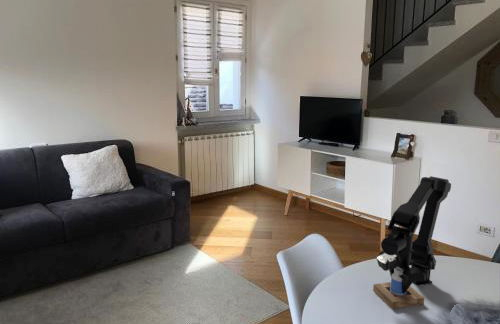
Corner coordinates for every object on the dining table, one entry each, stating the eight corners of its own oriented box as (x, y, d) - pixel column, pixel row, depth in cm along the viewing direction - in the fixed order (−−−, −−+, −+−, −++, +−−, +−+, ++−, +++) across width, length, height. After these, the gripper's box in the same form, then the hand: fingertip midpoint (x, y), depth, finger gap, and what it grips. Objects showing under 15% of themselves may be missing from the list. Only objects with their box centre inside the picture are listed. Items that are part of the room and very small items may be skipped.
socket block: (402, 286, 157) (403, 280, 157) (423, 304, 146) (424, 297, 145) (373, 290, 154) (373, 284, 154) (391, 308, 143) (392, 302, 142)
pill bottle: (407, 300, 147) (410, 273, 144) (390, 298, 148) (393, 271, 146) (405, 291, 152) (407, 266, 150) (388, 290, 153) (391, 264, 151)
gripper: (367, 237, 153) (364, 277, 156) (397, 260, 135) (393, 305, 138) (395, 234, 155) (391, 274, 159) (428, 256, 138) (423, 301, 141)
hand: (398, 288), depth 149 cm, fingers closed on pill bottle, 5 cm apart
